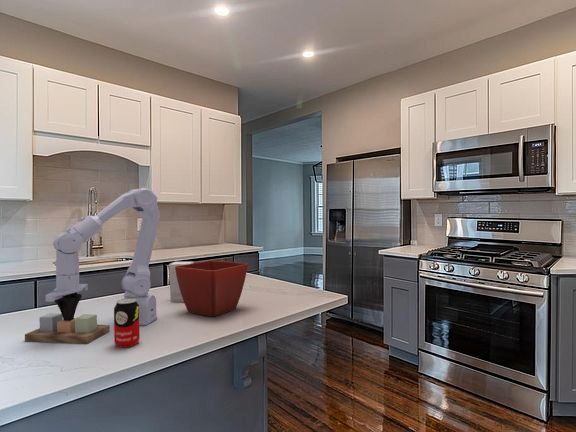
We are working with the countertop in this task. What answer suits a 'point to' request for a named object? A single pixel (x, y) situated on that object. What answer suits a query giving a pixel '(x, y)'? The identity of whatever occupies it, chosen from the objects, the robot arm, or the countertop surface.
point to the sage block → (85, 323)
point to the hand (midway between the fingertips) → (68, 320)
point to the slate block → (50, 322)
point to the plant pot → (211, 286)
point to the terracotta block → (66, 326)
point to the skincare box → (175, 282)
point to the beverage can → (126, 322)
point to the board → (67, 336)
